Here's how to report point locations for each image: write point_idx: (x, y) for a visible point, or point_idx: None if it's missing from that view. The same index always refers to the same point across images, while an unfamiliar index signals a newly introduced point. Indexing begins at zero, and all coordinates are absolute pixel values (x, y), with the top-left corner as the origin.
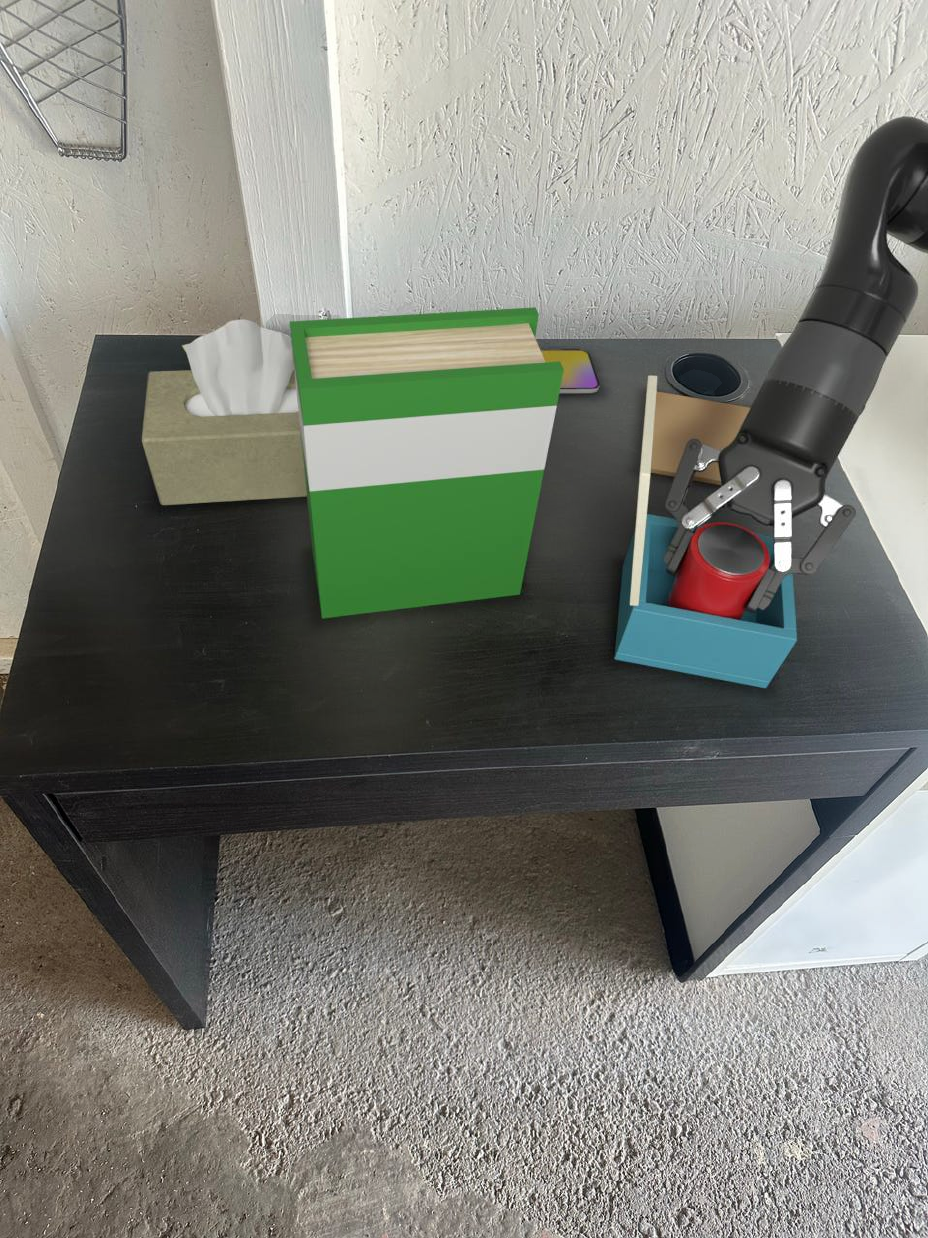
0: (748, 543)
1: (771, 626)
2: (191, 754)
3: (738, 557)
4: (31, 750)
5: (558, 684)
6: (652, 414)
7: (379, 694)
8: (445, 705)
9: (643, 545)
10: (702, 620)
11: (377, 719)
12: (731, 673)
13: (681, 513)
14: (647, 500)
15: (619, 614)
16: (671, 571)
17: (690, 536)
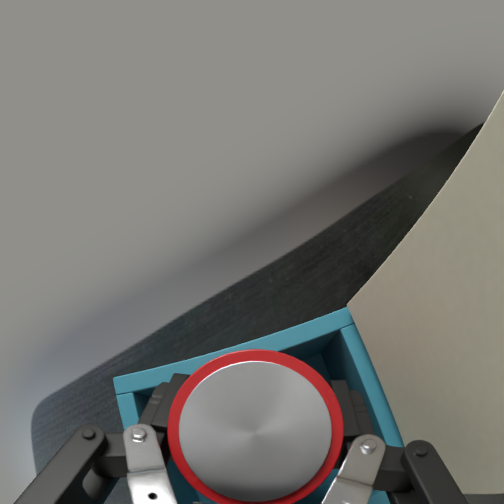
0: (224, 467)
1: (149, 385)
2: (465, 138)
3: (231, 417)
4: None
5: (357, 279)
6: None
7: None
8: (412, 213)
9: (417, 221)
10: (249, 344)
11: (432, 185)
12: None
13: (390, 457)
14: (485, 122)
15: None
16: (335, 380)
17: (346, 429)
